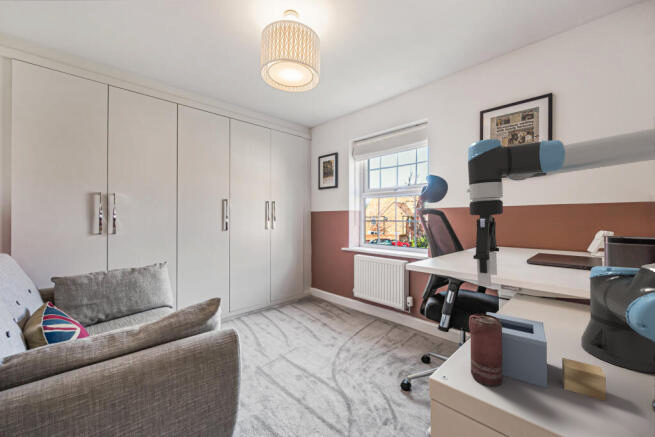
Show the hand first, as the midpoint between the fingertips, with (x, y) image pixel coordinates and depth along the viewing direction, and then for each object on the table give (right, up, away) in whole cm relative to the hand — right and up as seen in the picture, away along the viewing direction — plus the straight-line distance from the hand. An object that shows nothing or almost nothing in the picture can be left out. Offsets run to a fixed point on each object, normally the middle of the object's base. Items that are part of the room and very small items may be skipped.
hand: (488, 279), depth 68 cm
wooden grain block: (+11, -20, -14) cm, 27 cm away
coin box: (+3, -20, -5) cm, 21 cm away
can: (-7, -21, -10) cm, 24 cm away
